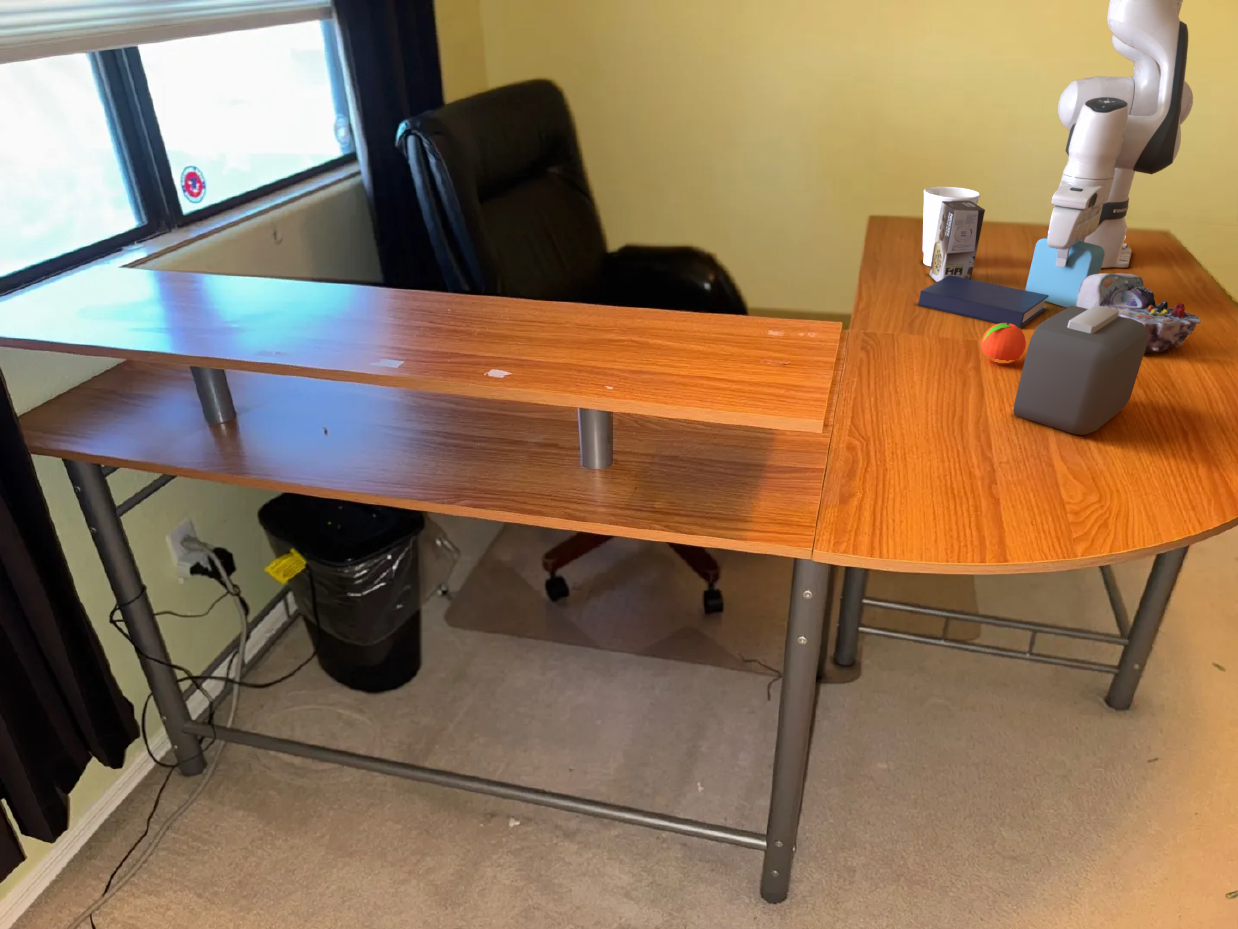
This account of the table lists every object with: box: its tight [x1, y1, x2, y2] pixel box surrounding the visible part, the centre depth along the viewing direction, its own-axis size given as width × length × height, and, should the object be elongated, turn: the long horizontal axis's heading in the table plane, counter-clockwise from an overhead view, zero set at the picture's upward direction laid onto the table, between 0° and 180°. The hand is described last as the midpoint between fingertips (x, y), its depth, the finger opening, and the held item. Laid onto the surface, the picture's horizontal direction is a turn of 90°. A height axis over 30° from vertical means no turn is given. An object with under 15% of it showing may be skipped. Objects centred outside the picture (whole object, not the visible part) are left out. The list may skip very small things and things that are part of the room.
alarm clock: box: [1013, 305, 1148, 436], centre depth 128 cm, size 16×11×16 cm
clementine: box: [980, 323, 1027, 366], centre depth 147 cm, size 8×7×7 cm
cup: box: [922, 186, 981, 267], centre depth 197 cm, size 12×12×16 cm
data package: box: [1025, 236, 1105, 309], centre depth 175 cm, size 12×4×12 cm, turn 33°
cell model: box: [1076, 272, 1202, 354], centre depth 157 cm, size 13×11×20 cm
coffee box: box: [929, 201, 986, 283], centre depth 186 cm, size 9×6×16 cm
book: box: [917, 275, 1049, 329], centre depth 174 cm, size 14×20×3 cm
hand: (1066, 262), depth 174 cm, fingers closed on data package, 5 cm apart
